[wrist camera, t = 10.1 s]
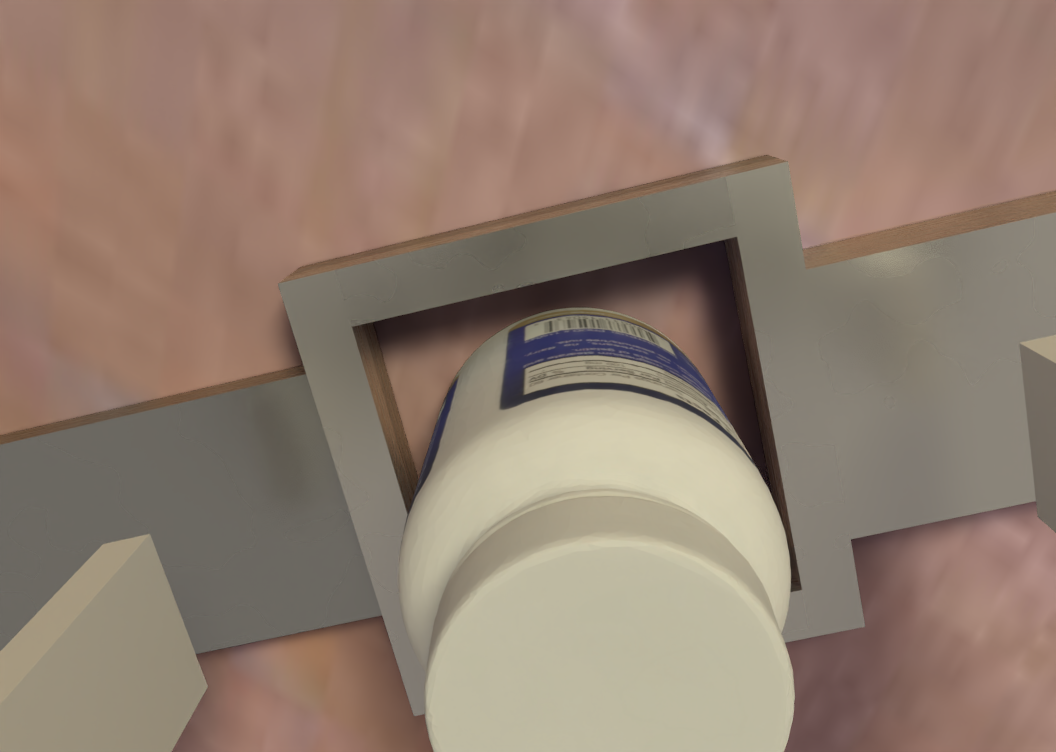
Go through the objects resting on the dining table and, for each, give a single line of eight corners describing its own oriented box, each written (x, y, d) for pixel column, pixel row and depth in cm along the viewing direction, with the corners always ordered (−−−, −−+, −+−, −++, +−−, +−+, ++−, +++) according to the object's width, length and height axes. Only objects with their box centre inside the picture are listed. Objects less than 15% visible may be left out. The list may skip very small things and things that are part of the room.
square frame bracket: (62, 742, 21) (24, 793, 20) (-102, 363, 19) (-159, 388, 17) (1256, 500, 19) (1318, 536, 18) (1237, 41, 17) (1306, 37, 15)
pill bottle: (578, 611, 20) (602, 994, 12) (384, 440, 19) (253, 717, 11) (775, 433, 19) (961, 710, 10) (579, 241, 18) (608, 374, 10)
